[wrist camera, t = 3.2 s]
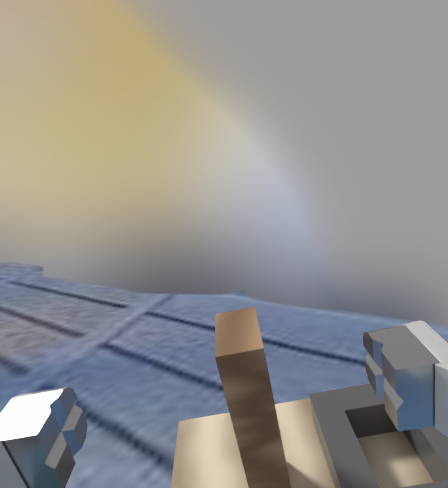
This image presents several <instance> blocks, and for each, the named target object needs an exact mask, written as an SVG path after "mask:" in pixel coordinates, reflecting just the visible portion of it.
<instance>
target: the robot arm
mask: <svg viewBox="0 0 448 488" xmlns="http://www.w3.org/2000/svg"><path fill="white" fill-rule="evenodd" d="M363 344H364V347H365V348H366V350H367V351H368V355H367V356H366V358H365V366H366V372H367V375H368V379H369V382H370V384H371V386H372V388H373V390H374V392H375V394H376V395H377V396H378V397H380V398H382V399H384V404H385V410H386V412H387V414H388V415H389V417H390V419H391V420H392V422H393V424H394V425H395V427H396V428H397V430H398V431H405V430H412V429H420V428H427V427H434V426H435V429H437V430H438V431H440V432H441V433H443V434H444V435H446V436H447V437H448V343H447V342H446V341H445V340H444V339H443V338H442V337H441V336H439V335H438V334H437V333H436V332H435V331H434V330H433V329H432V328H431V327H430V326H429V325H428V324H426V323H425V322H423V321H416V322H411V323H407V324H402V325H400V326H395V327H390V328H385V329H379V330H374V331H369V332H364V335H363ZM76 400H77V396H76V394H75V392H74V390H73V388H70V387H64V388H58V389H51V390H45V391H39V392H34V393H28V394H22V395H17V396H15V397H13V398H12V399H11V400H10V401H9V403H8V404H7V405H6V406H5V408H4V409H3V410H2V412H1V413H0V488H65V486H66V484H67V482H68V479H69V477H70V475H71V472H72V470H73V467H74V465H75V461H74V458H73V456H74V455H75V454H76V453H77V452H78V451H79V450H80V449H81V448H82V446H83V443H84V441H85V438H86V432H87V422H86V417H85V414H84V412H83V410H82V409H80V408H79V407H77V406H76V405H75V403H76Z"/></svg>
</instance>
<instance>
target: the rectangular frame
mask: <svg viewBox="0 0 448 488" xmlns="http://www.w3.org/2000/svg"><path fill="white" fill-rule="evenodd" d="M309 396H310V403H311V410H312V416H313V422H314V425H315V428H316V431H317V434H318V438H319V441H320V444H321V447H322V450H323V453H324V456H325V459H326V462H327V465H328V468H329V471H330V474H331V477H332V480H333V483H334V486H335V488H379V486H378V484H377V482H376V479H375V477H374V475H373V473H372V471H371V468H370V466H369V464H368V462H367V459H366V457H365V455H364V453H363V451H362V448H361V446H360V444H359V442H358V439H357V438H361V437H367V436H372V435H378V434H384V433H390V432H396V431H398V430H397V428H396V427H395V425H394V424H393V422H392V420H391V419H390V417H389V415H388V414H387V412H386V410H385V404H384V399H382V398H380V397H378V396H377V395H376V394H375V392H374V390H373V388H372V386H371V384H365V385H360V386H354V387H348V388H343V389H337V390H331V391H326V392H320V393H315V394H309ZM403 432H404V434H405V435H406V437H407V439H408V440H409V442H410V444H411V445H412V447H413V449H414V450H415V452H416V453H417V455H418V457H419V458H420V460H421V462H422V463H423V465H424V467H425V468H426V470H427V471H428V473H429V475H430V476H431V478H432V480H433V481H434V482H432V483H426V484H420V485H413V486H407V487H401V488H448V437H447V436H446V435H444V434H443V433H441V432H440V431H438V430H437V429H435V426H434V427H427V428H420V429H412V430H405V431H403Z"/></svg>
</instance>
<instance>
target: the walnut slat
mask: <svg viewBox="0 0 448 488" xmlns="http://www.w3.org/2000/svg"><path fill="white" fill-rule="evenodd" d="M215 358H216V362H217V366H218V370H219V374H220V378H221V382H222V386H223V389H224V393H225V397H226V401H227V405H228V409H229V413H230V417H231V421H232V425H233V428H234V432H235V436H236V440H237V444H238V448H239V452H240V456H241V460H242V464H243V467H244V471H245V475H246V479H247V483H248V487H249V488H291V485H290V479H289V474H288V469H287V464H286V459H285V454H284V449H283V444H282V439H281V434H280V429H279V424H278V419H277V414H276V409H275V404H274V399H273V393H272V388H271V383H270V378H269V373H268V368H267V363H266V358H265V353H264V348H263V343H262V339H261V334H260V329H259V324H258V320H257V315H256V310H255V307H251V308H246V309H241V310H235V311H230V312H225V313H220V314H215Z"/></svg>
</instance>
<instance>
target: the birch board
mask: <svg viewBox="0 0 448 488" xmlns="http://www.w3.org/2000/svg"><path fill="white" fill-rule="evenodd" d="M275 409H276V414H277V419H278V424H279V429H280V434H281V439H282V444H283V449H284V454H285V459H286V464H287V469H288V474H289V479H290V485H291V488H335V486H334V483H333V480H332V477H331V474H330V471H329V468H328V465H327V462H326V459H325V456H324V453H323V450H322V447H321V444H320V441H319V438H318V434H317V431H316V428H315V425H314V422H313V416H312V410H311V403H310V398H308V399H303V400H297V401H291V402H286V403H280V404H275ZM357 439H358V442H359V444H360V446H361V448H362V451H363V453H364V455H365V457H366V459H367V462H368V464H369V466H370V468H371V471H372V473H373V475H374V477H375V479H376V482H377V484H378V486H379V488H401V487H407V486H413V485H420V484H426V483H432V482H434V481H433V480H432V478H431V476H430V475H429V473H428V471H427V470H426V468H425V467H424V465H423V463H422V462H421V460H420V458H419V457H418V455H417V453H416V452H415V450H414V449H413V447H412V445H411V444H410V442H409V440H408V439H407V437H406V435H405V434H404V432H403V431H396V432H390V433H384V434H378V435H372V436H367V437H361V438H357ZM171 488H249V487H248V483H247V479H246V475H245V471H244V467H243V464H242V460H241V456H240V452H239V448H238V444H237V440H236V436H235V432H234V428H233V425H232V421H231V417H230V413H223V414H218V415H212V416H207V417H201V418H195V419H190V420H184V421H179V426H178V434H177V442H176V450H175V458H174V466H173V474H172V482H171Z"/></svg>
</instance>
